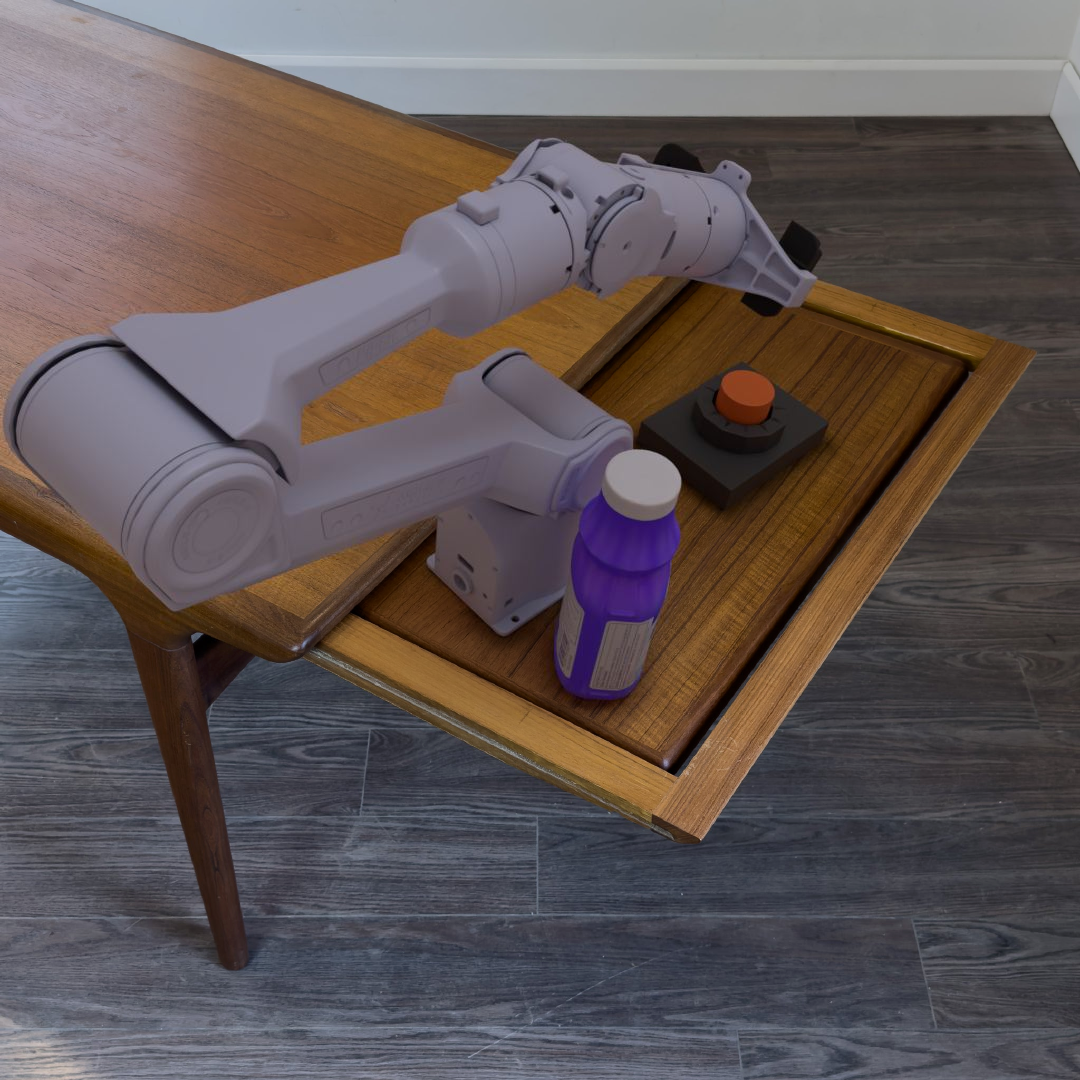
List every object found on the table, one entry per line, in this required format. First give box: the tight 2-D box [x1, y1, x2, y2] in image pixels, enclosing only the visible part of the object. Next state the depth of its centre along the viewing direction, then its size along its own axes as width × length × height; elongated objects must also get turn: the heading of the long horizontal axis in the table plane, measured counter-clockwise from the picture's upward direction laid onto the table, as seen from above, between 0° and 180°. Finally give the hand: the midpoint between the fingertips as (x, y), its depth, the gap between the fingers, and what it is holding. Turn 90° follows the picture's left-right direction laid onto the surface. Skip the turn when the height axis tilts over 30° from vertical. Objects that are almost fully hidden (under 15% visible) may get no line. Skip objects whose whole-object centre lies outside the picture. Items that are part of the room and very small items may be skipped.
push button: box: [716, 370, 775, 426], centre depth 82 cm, size 4×4×2 cm
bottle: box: [553, 449, 682, 701], centre depth 64 cm, size 7×6×17 cm
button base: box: [636, 360, 830, 511], centre depth 84 cm, size 12×9×4 cm
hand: (765, 232), depth 73 cm, fingers open, 7 cm apart
